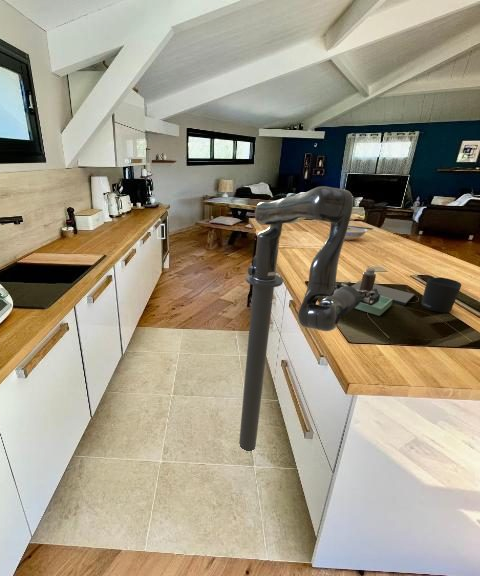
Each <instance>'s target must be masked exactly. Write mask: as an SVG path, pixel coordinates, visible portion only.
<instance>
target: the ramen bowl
mask: <svg viewBox="0 0 480 576" xmlns="http://www.w3.org/2000/svg"><path fill="white" fill-rule="evenodd" d="M368 230H374V228H373V227H364V226H355V225H348V228H347V232H346V235H345V239H344V241H353V240H356V239H359V238H362V237H363V236H364V235H365V234H366V233H367V232H368Z"/></svg>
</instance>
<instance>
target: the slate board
mask: <svg viewBox="0 0 480 576" xmlns="http://www.w3.org/2000/svg"><path fill="white" fill-rule="evenodd" d="M361 281H362V280H359V281H357V282H356V283H354V284H352V285H350V287H353V288H355V289H357V290H360V286H361ZM373 289H377V291H378V293H379V294H380V296H383V297H387V298H391V299H393V300H392V303H395V304H397V305H402V306H406V305H407V304H408V303H409V302H410V301H411V300H412V299H413V298H414V297H415V293H411V292H408V291H404V290H399V289H395V288H391V287H389V286H384V285H380V284H376V283H374V286H373Z"/></svg>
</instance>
